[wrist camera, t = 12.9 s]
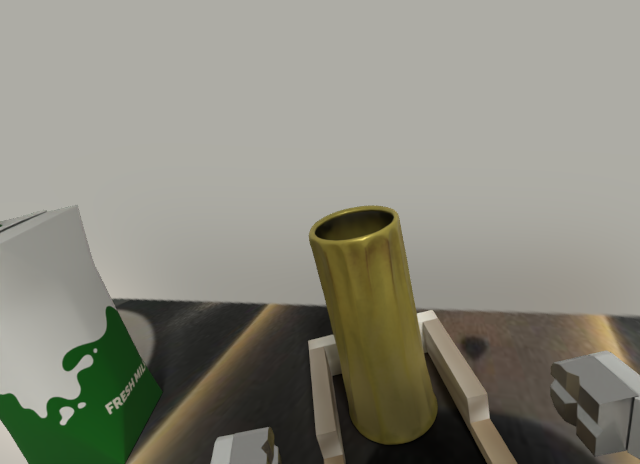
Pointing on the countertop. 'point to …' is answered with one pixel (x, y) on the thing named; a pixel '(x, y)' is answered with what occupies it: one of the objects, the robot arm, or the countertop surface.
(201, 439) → the countertop surface
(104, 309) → the milk carton
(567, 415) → the robot arm
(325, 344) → the frame
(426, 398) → the vase
